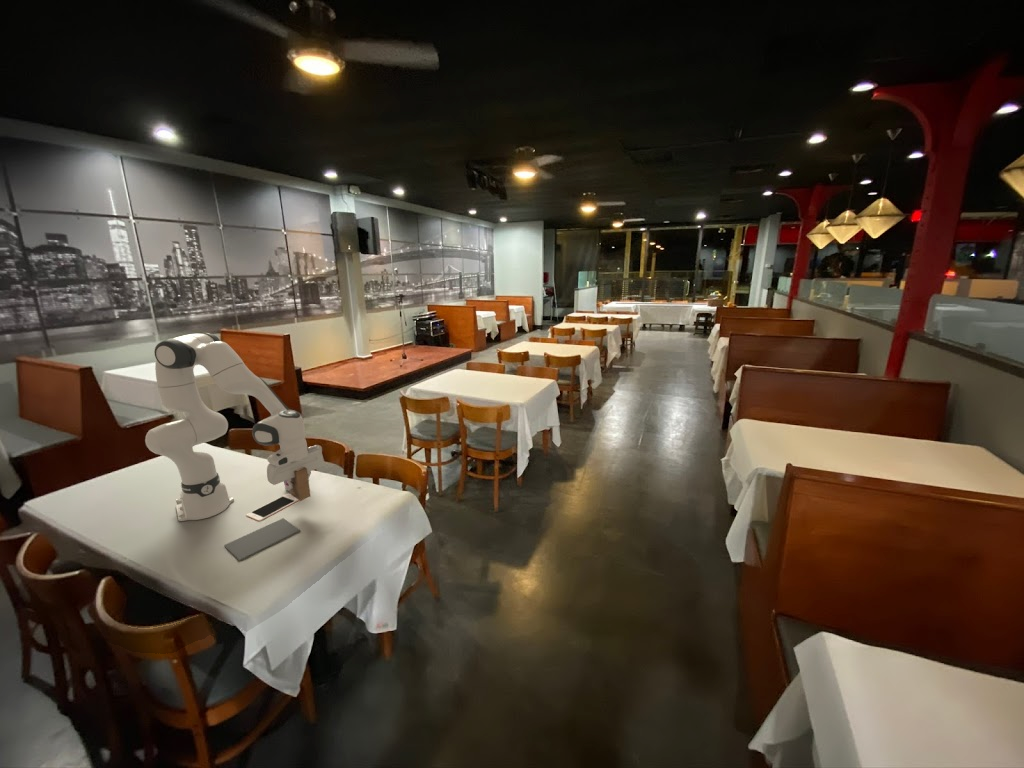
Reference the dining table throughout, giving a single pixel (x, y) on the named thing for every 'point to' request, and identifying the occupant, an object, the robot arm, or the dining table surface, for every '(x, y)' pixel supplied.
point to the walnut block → (300, 484)
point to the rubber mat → (261, 539)
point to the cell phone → (272, 507)
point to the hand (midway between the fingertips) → (299, 484)
